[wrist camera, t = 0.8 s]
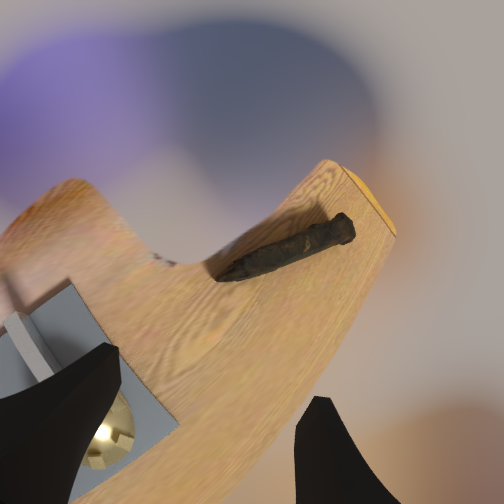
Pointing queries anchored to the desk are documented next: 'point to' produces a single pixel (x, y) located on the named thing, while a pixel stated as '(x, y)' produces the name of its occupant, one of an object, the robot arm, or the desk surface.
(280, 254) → the dark brown statuette
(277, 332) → the desk surface
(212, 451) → the desk surface
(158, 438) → the base plate
